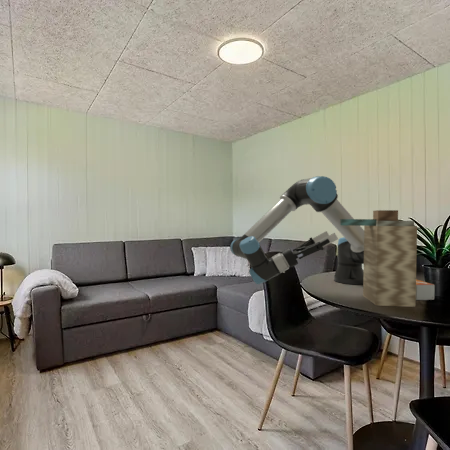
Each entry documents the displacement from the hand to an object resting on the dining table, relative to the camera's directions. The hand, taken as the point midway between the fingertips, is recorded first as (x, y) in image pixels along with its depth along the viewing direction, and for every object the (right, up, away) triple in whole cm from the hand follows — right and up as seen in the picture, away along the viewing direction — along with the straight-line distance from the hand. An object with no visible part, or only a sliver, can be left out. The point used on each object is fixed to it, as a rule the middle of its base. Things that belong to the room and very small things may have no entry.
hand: (332, 234), depth 122 cm
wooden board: (+22, -26, -2) cm, 34 cm away
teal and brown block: (+14, +4, -1) cm, 14 cm away
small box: (+36, -23, +13) cm, 45 cm away
